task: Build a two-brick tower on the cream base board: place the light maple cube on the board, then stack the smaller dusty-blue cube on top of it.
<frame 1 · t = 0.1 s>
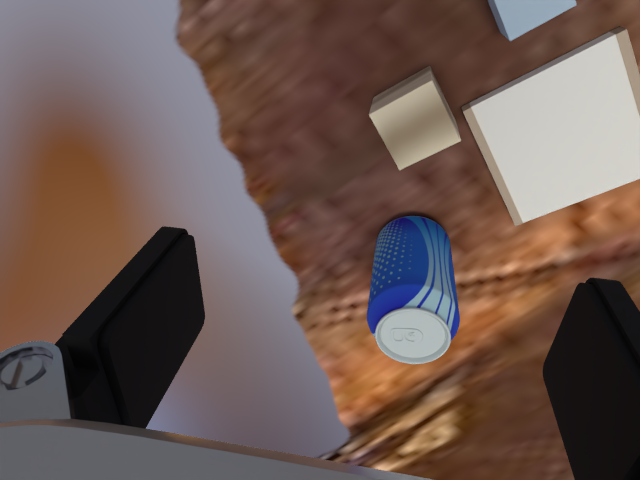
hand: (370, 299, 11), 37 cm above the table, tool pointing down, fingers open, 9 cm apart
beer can: (412, 240, 53), on the table
maple cube: (414, 108, 45), on the table
base board: (559, 134, 44), on the table
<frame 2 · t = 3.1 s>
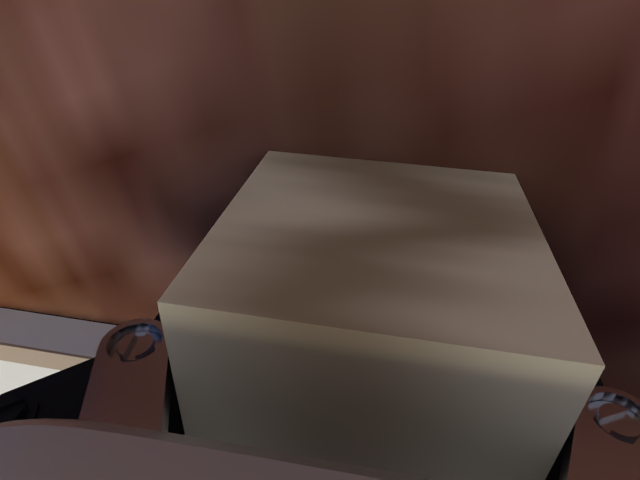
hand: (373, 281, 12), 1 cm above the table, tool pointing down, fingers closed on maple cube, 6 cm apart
maple cube: (375, 262, 13), on the table, touching gripper
base board: (144, 443, 20), on the table
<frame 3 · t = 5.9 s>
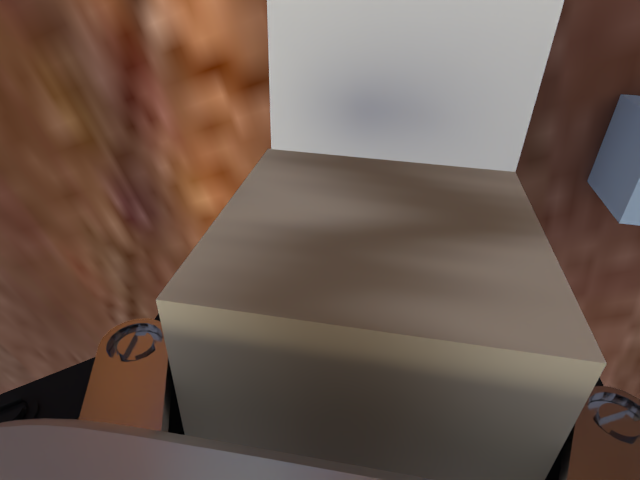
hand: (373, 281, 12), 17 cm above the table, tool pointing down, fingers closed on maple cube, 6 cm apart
maple cube: (375, 260, 13), point 16 cm above the table, touching gripper
base board: (395, 106, 26), on the table
when the fingers open (3 cm above the table, at t = 8.6 s): maple cube drops 1 cm, resting on base board.
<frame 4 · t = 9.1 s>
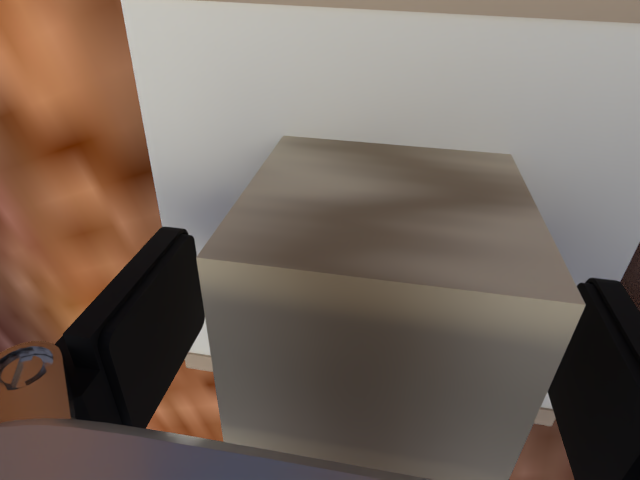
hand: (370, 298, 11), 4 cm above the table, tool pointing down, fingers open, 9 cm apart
maple cube: (382, 239, 14), point 1 cm above the table, touching base board
base board: (380, 216, 15), on the table
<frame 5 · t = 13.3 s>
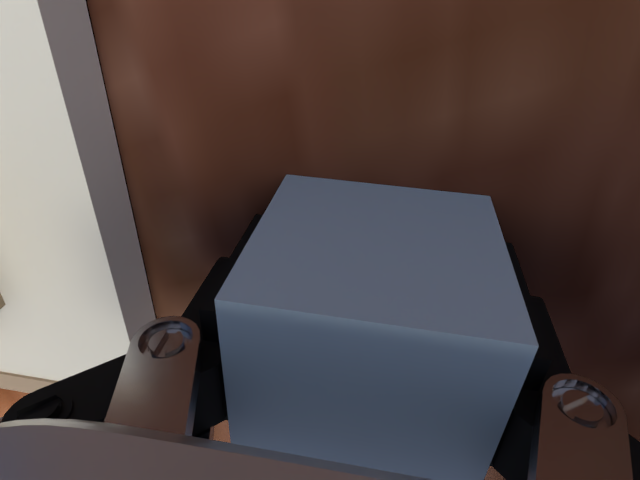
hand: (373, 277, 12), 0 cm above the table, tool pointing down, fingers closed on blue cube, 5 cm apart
blue cube: (375, 267, 12), on the table, touching gripper
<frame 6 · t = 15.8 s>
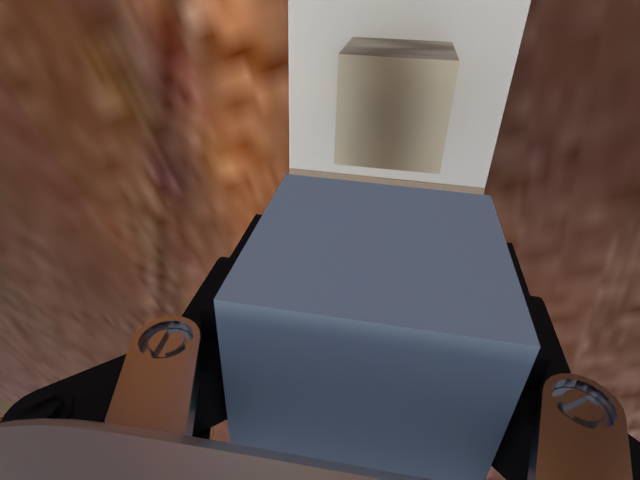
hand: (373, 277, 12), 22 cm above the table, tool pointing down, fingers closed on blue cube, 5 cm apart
maple cube: (396, 89, 29), point 1 cm above the table, touching base board
blue cube: (375, 267, 12), point 22 cm above the table, touching gripper
base board: (395, 84, 30), on the table
when the fingers open (9 cm above the table, at t = 18.5 s): blue cube drops 1 cm, resting on maple cube.
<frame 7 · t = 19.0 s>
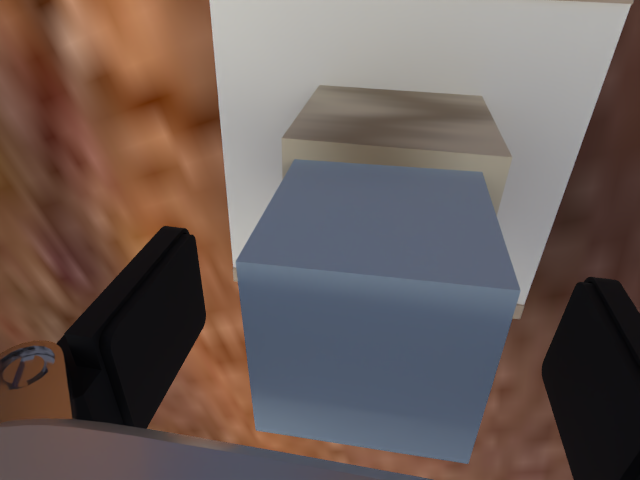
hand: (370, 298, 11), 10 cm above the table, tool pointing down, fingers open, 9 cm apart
maple cube: (390, 165, 18), point 1 cm above the table, touching base board, blue cube
blue cube: (378, 243, 13), point 7 cm above the table, touching maple cube
base board: (388, 152, 20), on the table
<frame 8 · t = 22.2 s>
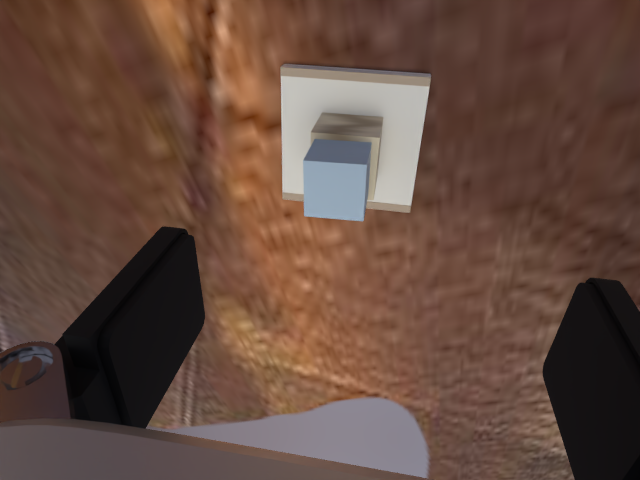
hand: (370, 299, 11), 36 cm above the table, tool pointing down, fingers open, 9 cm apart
maple cube: (350, 144, 46), point 1 cm above the table, touching base board, blue cube
blue cube: (342, 167, 41), point 7 cm above the table, touching maple cube
base board: (351, 139, 47), on the table
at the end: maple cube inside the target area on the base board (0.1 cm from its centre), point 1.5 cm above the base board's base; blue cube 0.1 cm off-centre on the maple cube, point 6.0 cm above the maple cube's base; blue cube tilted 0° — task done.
